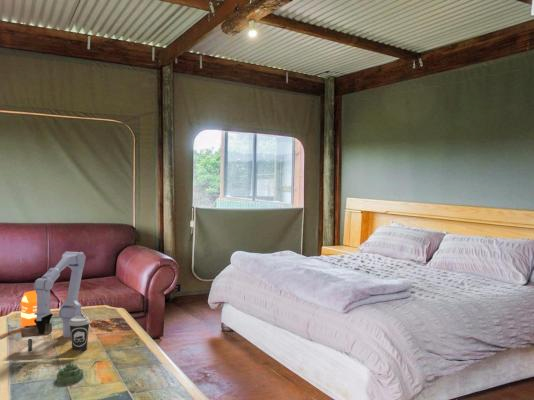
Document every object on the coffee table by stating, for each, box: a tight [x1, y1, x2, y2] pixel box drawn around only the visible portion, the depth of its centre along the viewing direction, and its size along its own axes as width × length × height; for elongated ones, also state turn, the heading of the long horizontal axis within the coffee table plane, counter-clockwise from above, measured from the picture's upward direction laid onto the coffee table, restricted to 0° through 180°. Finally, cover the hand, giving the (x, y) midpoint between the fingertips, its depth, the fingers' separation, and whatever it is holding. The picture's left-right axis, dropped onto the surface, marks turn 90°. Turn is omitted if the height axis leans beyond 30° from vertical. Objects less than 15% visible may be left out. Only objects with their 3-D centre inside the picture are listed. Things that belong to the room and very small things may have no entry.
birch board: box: [16, 339, 59, 357], centre depth 226 cm, size 13×20×1 cm, turn 9°
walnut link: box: [20, 322, 53, 338], centre depth 224 cm, size 12×6×4 cm, turn 99°
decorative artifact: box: [56, 361, 84, 385], centre depth 193 cm, size 10×7×10 cm
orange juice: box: [20, 289, 37, 329], centre depth 261 cm, size 8×9×20 cm
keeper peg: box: [27, 338, 33, 351], centre depth 222 cm, size 2×2×6 cm
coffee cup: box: [69, 315, 91, 353], centre depth 226 cm, size 10×10×15 cm
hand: (43, 331), depth 225 cm, fingers closed on walnut link, 5 cm apart
